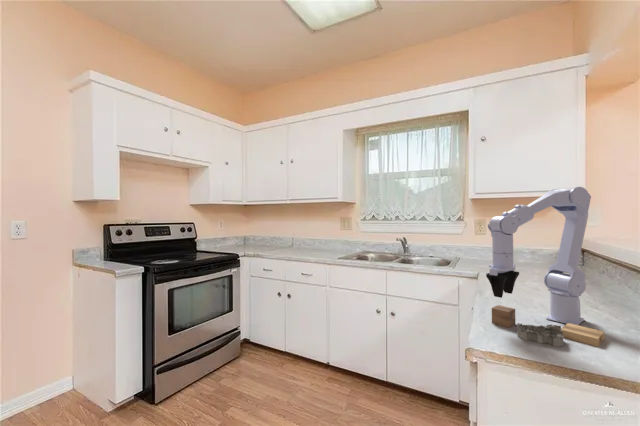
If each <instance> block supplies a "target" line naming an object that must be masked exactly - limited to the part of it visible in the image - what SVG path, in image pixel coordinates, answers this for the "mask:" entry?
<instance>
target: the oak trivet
mask: <svg viewBox="0 0 640 426" xmlns="http://www.w3.org/2000/svg"><path fill="white" fill-rule="evenodd" d="M561 329H562V333H563V336H564V339H568V340H573V341H576V342H579V343H583V344H587V345H590V346H595V347H599V346H600V345H601V344H602V342H604V341H605V336H606V335H605V331H604V330H599V329H595V328H591V327H587V326H583V325H580V324H579V325H575V324H570V323H567V324H566V323H565V325H564V326H561Z"/></svg>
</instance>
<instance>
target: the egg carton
mask: <svg viewBox="0 0 640 426" xmlns="http://www.w3.org/2000/svg"><path fill="white" fill-rule="evenodd" d="M561 328H562V326H561V325H557V324H547V325H545V326H544V325H541V324H540V325H534V324H523V323H520V322H517V323H516V329H517V330H516V331H517V332H516V333H517V335H516V336H517V338H520V339H522V340H523V341H529V340H530V341H534V342H536V343H539V344H543V343H544V344H545V343H546V344H549V345H552V346H554V347H564V339H565V338H564V336H563V333H562V329H561Z"/></svg>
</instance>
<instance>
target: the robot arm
mask: <svg viewBox="0 0 640 426" xmlns="http://www.w3.org/2000/svg"><path fill="white" fill-rule="evenodd" d="M591 199H592V195H591V194H590V193H589V192H588V190H587V189H586V188H585V187H583V186H575V187H568V188H567V187H566V188H553V189H550V190H549V191H546V192H545V193H544V195H542V196H540V197H538V198H536V199H535V200H534V201H531V202H530V203H529V204H528V205H526V204H515V205H514V206H513V207H514V208H512V209H511V210H509V211H504V212H502V214H501V215H496V216H493V217H492V218H491V219H490V221H489V223H488V224H487V228H488V230H489V231H490V236H491V237H492V245H491V246H492V264H488V268H489V272H488V273H487V272H486V274H485V275H486V278H487V280H488V282H489V283H490V286H491V290H492V293H493V296H494V297H496V298H500V299H502V298H503V296H504V293H505V294H513V292H514V288H515V284H516V281H517V278H518V277H519V275H520V271H516V264H514V234H515V233H516V232H517V230H518V228H519V227H521V226H523V225H524V224H526V223H528V222H530V221H532V220H533V219H534V217H535V215H536V214H537V213H539V212H541V211H544V210H546V209H548V208H550V207H552V208H553V209H554V210H555V211H557V212H558V213H560V214H561V215H563V216H564V218H565V220H564V225H563V230H562V233H561V235H562V236H561V238H560V244H559V249H558V254H557V257H556V258H557V259H556V262H555V263H553V264H552V265H549V267H548V270H547V272H546V273H545V275H544V276H543V282H544V286H545V287H546V288H547V289H548V291H549V293H550V294H549V295H550V298H549V299H550V301H549V303H550V314H549V315H548V316H546V317H545V319H546V320H549V321H554V322H558V323H562V324H565V325H566V324H567V323H570V324H575V325H579V326H580V324H581V323H583V322H584V321H585V318H584V317H581V299H580V297H581V296H582V294H583V293H584V292H585V291H586V288H587V287H586V286H587V285H586V273H585V272H584V271H583V270H582V269H581V268H580V267H579V262H580V257H581V254H582V253H581V252H582V247H583V244H584V238H585V233H586V228H587V224H588V223H587V222H588V217H589V209H590V204H591Z"/></svg>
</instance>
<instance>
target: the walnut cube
mask: <svg viewBox="0 0 640 426" xmlns="http://www.w3.org/2000/svg"><path fill="white" fill-rule="evenodd" d="M491 323H492V324H494V323H495V324H494V325H497V324H498V326H501V327H506V328H507V329H509V328H512V327H513V326H515V325H516V308H513V307H508V306H505V305H501V304H498V305H495V306H493V307H491Z"/></svg>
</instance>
